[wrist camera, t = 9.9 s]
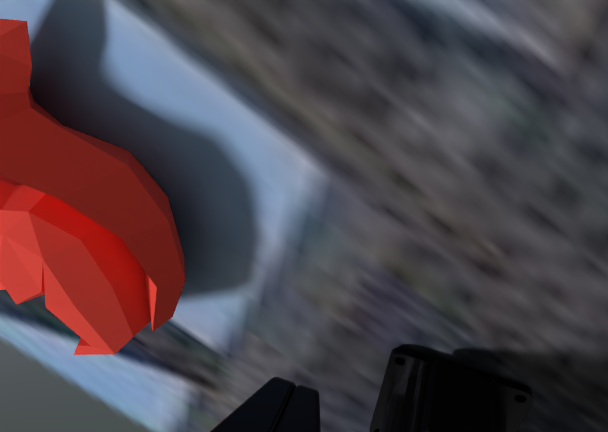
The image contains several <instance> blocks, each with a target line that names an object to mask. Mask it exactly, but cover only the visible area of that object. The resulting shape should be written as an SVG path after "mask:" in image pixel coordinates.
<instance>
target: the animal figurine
mask: <svg viewBox="0 0 608 432" xmlns="http://www.w3.org/2000/svg"><path fill="white" fill-rule="evenodd" d="M31 71H32V61H31V52H30V44H29V35H28V27H27V21H19V20H8V19H0V290H5V289H6V290H7V292H8V293H9V295H10V296H11V297H12V299H13V300H14V302H15V303H16V304H19V303H22V302H25V301H28V300H30V299H33V298H36V297H38V296H41V295H44V294H45V302H46V308H47V309H48V310H50V311H51V312H52V313H53V314H54V315H55V316H57V317H58V318H59V319H60V320H61V321H62V322H64V323H65V324H66V325H67V326H68V327H69V328H71V329H72V330H73V331H74V332H75V333H76V334H78V335H79V336H80V337H81V339H80V341H79V343H78V345H77V348H76V350H75V353H74V355H93V354H115V353H116V352H118V351H119V350H120V349H121V348H122V347H123V346H124V345H125V344H126V343H127V342H128V341H129V340H130V339H131V338H132V337H133V336H134V335H136V334H137V333H138V332H139V331H140V330H141V329H142V328H143V327H145V326H146V325H147V324H148V323H149V322H150V321H151V324H152V331H154V330H156V329H157V328H158V327H160V326H161V325H162V324H163V323H165V322H166V321H167V320H169V319H170V318H171V317H173V314H174V311H175V309H176V306H177V303H178V300H179V297H180V295H181V292H182V289H183V286H184V284H185V261H184V253H183V250H182V246H181V242H180V239H179V235H178V232H177V228H176V224H175V221H174V217H173V213H172V210H171V206H170V203H169V199H168V196H167V195H166V194H165V193H164V191H163V190H162V189H161V188H160V187H159V185H158V184H157V183H156V182H155V180H154V179H153V178H152V177H151V176H150V174H149V173H148V172H147V171H146V170H145V168H144V167H143V166H142V165H141V164H140V162H139V161H138V160H137V159H136V158H135V157H134V156H133V155H132V154H131V152H129V151H128V150H126V149H123V148H121V147H118V146H116V145H113V144H110V143H108V142H105V141H103V140H100V139H97V138H95V137H92V136H90V135H87V134H84V133H82V132H79V131H77V130H74V129H71V128H69V127H66V126H64V125H62V124H61V123H60V122H59V121H58V120H56V119H55V118H54V117H53V116H52V115H50V114H49V113H48V112H47V111H46V110H45V109H43V108H42V107H41V106H40V105H39V104H37V103H36V102H35V101H34V99H33V96H32V93H31V90H30V87H29V82H30V77H31Z"/></svg>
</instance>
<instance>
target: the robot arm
mask: <svg viewBox="0 0 608 432" xmlns="http://www.w3.org/2000/svg"><path fill="white" fill-rule="evenodd" d="M398 357H400V358H403V359H399V358H398ZM518 395H523V396H518ZM531 403H532V391H531V389H530V388H529V387H528V386H526V385H523V384H520V383H517V382H513V381H510V380H507V379H504V378H500V377H497V376H494V375H490V374H487V373H484V372H481V371H477V370H474V369H471V368H467V367H464V366H461V365H458V364H454V363H451V362H448V361H444V360H441V359H438V358H435V357H431V356H428V355H425V354H421V353H418V352H415V351H412V350H408V349H405V348H400V347H399V348H395V349H393V350H392V352H391V354H390V358H389V361H388V365H387V369H386V372H385V376H384V379H383V383H382V386H381V390H380V393H379V397H378V400H377V404H376V408H375V411H374V415H373V418H372V422H371V426H370V432H516V431H517V429H518V427H519V426H520V424H521V422H522V420H523V418H524V416H525V414H526V412H527V411H528V409H529V407H530V405H531ZM210 432H320V404H319V393H318V391H317V390H315V389H312V388H309V387H306V386H303V385H297V386H296V385H295V383H293V382H291V381H288V380H285V379H282V378H279V377H274V378H272V379H270V380H269V381H268V382H267V383H266V384H264V385H263V386H262V387H261V388H260V389H259V390H258V391H256V392H255V393H254V394H253V395H252V396H251V397H250V398H248V399H247V400H246V401H245V402H244V403H243V404H241V405H240V406H239V407H238V408H237V409H236V410H235V411H233V412H232V413H231V414H230V415H229V416H228V417H226V418H225V419H224V420H223V421H222V422H221V423H220V424H218V425H217V426H216V427H215V428H214V429H213V430H212V431H210Z"/></svg>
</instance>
